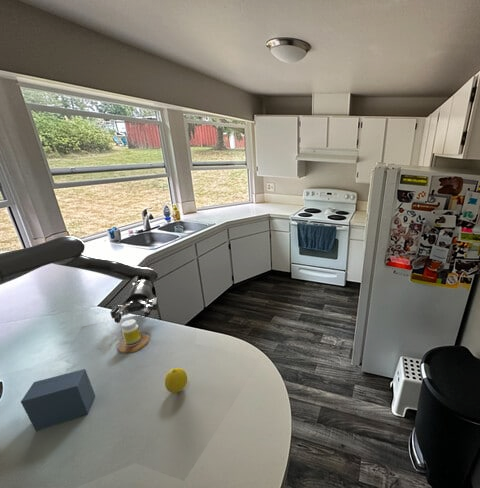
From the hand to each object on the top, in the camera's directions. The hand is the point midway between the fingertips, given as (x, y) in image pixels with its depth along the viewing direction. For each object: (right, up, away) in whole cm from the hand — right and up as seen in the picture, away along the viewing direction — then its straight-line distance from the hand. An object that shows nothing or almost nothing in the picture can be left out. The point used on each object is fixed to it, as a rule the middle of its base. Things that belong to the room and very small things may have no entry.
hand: (131, 317), depth 91 cm
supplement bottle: (+1, -9, -1) cm, 9 cm away
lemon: (+28, -16, -18) cm, 37 cm away
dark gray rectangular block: (+2, -18, -25) cm, 31 cm away
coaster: (+2, -9, -1) cm, 9 cm away
